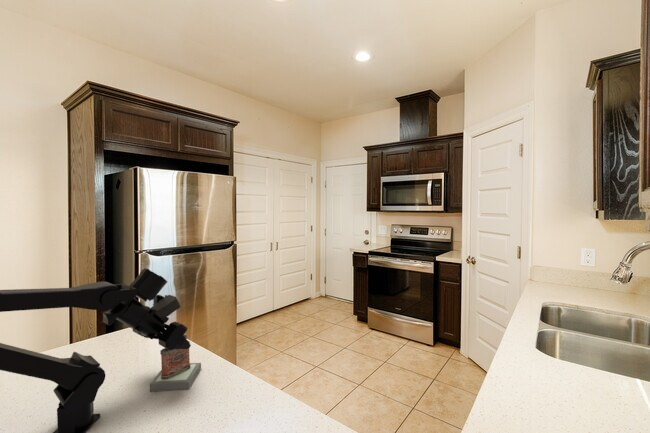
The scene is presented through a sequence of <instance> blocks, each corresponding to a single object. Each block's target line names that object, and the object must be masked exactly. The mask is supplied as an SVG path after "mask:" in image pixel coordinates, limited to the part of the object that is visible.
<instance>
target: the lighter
mask: <svg viewBox="0 0 650 433" xmlns="http://www.w3.org/2000/svg"><path fill="white" fill-rule="evenodd" d="M184 336H185V338H186V339H187V340H188V335H187V333H185V334H184ZM188 342H189V343H190V344H191V342H190V341H189V340H188ZM159 352H160V357H161V358H160V360H161V370H162V374H161V379H162V380H167V379H170V378H172V377H175V376H177V375H179V374H181V373H183V372H185V371H187V370H188V369H190V348H189V349H173V350H171V351H170V350H168V349H166V348H164V347H163V348H161V350H160V351H159Z"/></svg>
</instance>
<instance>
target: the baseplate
mask: <svg viewBox="0 0 650 433" xmlns="http://www.w3.org/2000/svg"><path fill="white" fill-rule="evenodd" d="M201 370H202V363H201V362H191V363H190V369H188V370H187V371H185V372H183V373H181V374H179V375H177V376H175V377H172V378H170V379H167V380H162V379H161V374H162V369H161V370H160V371H159V372H158V373H157V374H156V376H155V377H154V378H153V379H152V381H151V382H150V383H149V392H165V391H182V390H183V391H184V390H190V389H191V387H192V385H193V384H194V382H195V380H196V379H197V377H198V376H199V373H200V372H201Z"/></svg>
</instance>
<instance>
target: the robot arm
mask: <svg viewBox="0 0 650 433" xmlns="http://www.w3.org/2000/svg"><path fill="white" fill-rule="evenodd" d="M167 283H168V281H167V280H166V278H164V277H163V276H162V275H158V274H157V273H156V272H154V271H151V270H150V269H149V268H147V267H144V268H143V269H142V270H141V271H140V273H139V274H138V275H137V277H135V279H134V280H132V282H131V283H130V284H129V285H128V284H127V283H126V284H125V283H122V284H113V283H110V282H108V281H97V282H91V283H85V284H81V285H78V286H72V287H59V288H57V287H55V288H54V287H53V288H52V287H51V288H20V289H17V288H16V289H0V313H3V312H4V313H5V312H17V311H32V310H34V311H35V310H48V309H49V310H50V309H61V308H77V309H84V310H85V309H86V310H91V311H92V310H94V311H103V312H102V315H103V317H102V323H105V324H106V325H107V326H112V324H113V323H114V322H115V321H116V320H117V321H119V322H120V323H122V324H124V325H126V326H127V327H129V328H131V329H132V332H133V333H135V334H136V335H139V336H141V337H143V338H144V339H145V338H146V339H150V340H153V339H155V340H158V345H159V346H160V347H163V349H164V348H166V349H168V350H170V351H171V350H173V349H189V350H190V348H191V346H192V345H191V342H190V343H189V342H188V341H189V340H188V338H187V339H186V338H185V336H184V334H186V332H188V327H187V326H186V325H184V324H183V323H180V322H178V321H172V322H170V323H169V324H166V323H167V322H168V321H169V320H170V318H169V317H168V316H171V315H172V314H173V313H174V312H176V311H177V310H179V309H180V308H181V307H182V305H181V303H180V302H179V300H178V298H177V297H176V296H175V295H171V294H165V295H164V296H163V295H161V294H159V293H160V292H161V290H162V289H163V288H164V287H165V286H166V285H167ZM136 298H138V299H140V300H141V301H142V302H147V301H149V302H150V301H153V303H152V306H151V307H149V306H147V305H145V304H143V303H142V302H140V301H139V300H137V299H136ZM0 371H2V372H8V373H13V374H17V375H22V376H27V377H32V378H36V379H37V378H38V379H42V380H45V381H51V382H53V383H54V384H57V385H56V387H55V388H54V389H53V393H54V395H55V396H56V397H57V399H58V400H59V403H58V405H57V406H58V407H57V408H56V418H57V419H56V420H57V423H56V424H57V427H56V429H55V430H54V431H53V432H52V433H86V432H87V431H89V430H90V428H91V427H92V426H93V425H94V424H95V422H97V420H98V419H99V418H100V417H101V413H94V412H95V411H94V401H96V397H97V394H98V391H99V389H100V388H101V386H102V385H103V384H104V382H105V380H106V372H105V371H106V370H104V369H103V367H102V366H101V363H99V362H98V361H97V359H95V358H94V357H93V356H92V355H83V354H81V353H78V352H76V351H73V352H72V354H71V356H70V357H62V358H60V357H57V356H54V355H53V356H52V355H49V354H44V353H40V352H37V351H33V350H29V349H25V348H22V347H17V346H13V345H10V344H7V343H2V342H0Z"/></svg>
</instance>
